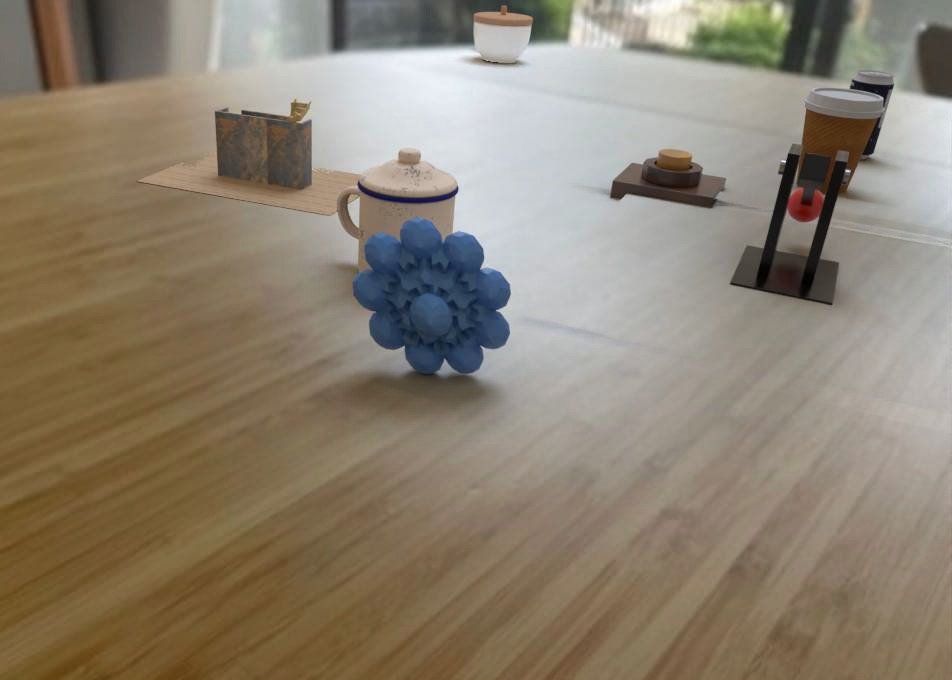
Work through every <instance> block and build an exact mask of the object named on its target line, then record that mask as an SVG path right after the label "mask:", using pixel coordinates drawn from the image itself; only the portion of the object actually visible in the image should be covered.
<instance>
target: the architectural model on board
mask: <svg viewBox="0 0 952 680" xmlns="http://www.w3.org/2000/svg"><path fill="white" fill-rule="evenodd" d="M311 104H312V100H310V101H309V102H300V101H298V99H297V98H294V100H293V101H292V102H290V113H289V115H282V114H275V113H269V112H262V111H255V110H248V109H241V110H240V113H234V112H229V111H230V110H229V108H230V107H228V106H227V107H222V108H220V109H217V110H214V122H215V125H214V126H215V140H216V142H215V143H216V150H209V151H210V152H211V151H213V152H214V153H213V152H211V153H210V152H209V151H208V152H209V153H210V154H208V153H207V155H211V157H210V156H208V157H209V158H208V157H206V156H205V157H203V158H205V159H203V160H201V161H200V160H198V161H200V162H198V163H197V164H196V165H197V166H196V167H194V166H195V165H194V166H192V165H190V166H192V167H190V166H189V167H190V168H189V167H187V166H188V165H186V166H184V167H183V166H181V165H183V164H184V163H182V162H180V163H181V164H180V163H177V164H175V165H173V166H174V167H173V166H170V167H168V168H165V169H163V170H159V171H158V172H156V173H155V172H154V173H153V174H150V175H148V176H145V177H143V178H141V179H138V180H137V182H140V183H144V184H150V185H156V186H161V187H162V186H163V187H168V188H173V189H179V190H184V191H189V192H196V193H202V194H206V195H212V196H216V197H217V196H219V197H224V198H230V199H236V200H239V201H240V200H241V201H245V202H246V201H247V202H252V203H258V204H264V205H268V206H274V207H280V208H285V209H291V210H297V211H302V212H303V211H304V212H307V213H314V214H318V215H319V214H320V215H326V216H332V215H333V214H334V213H336V212H337V200H338V196H339V194H340V193H341V192H342V191H343V190H344V189H346V188H348V187H351V186H357V183H358V180H359V177H360V176H361V174H358V173H354V172H353V173H352V172H346V171H340V170H334V169H328V170H326V169H327V168H321V167H316V168H318V169H316V168H314V170H317V171H314V170H312V167H313V166H312V165H313V164H312V162H313V160H312V159H313V157H312V156H313V154H312V153H313V152H312V151H313V149H312V148H313V144H312V143H313V140H312V139H313V137H312V136H313V135H312V134H313V125H312V124H313V122H312V121H313V120H312V119H311V118H310V119H306V120H304V121H302V120H303V119H304V118H305V116H306V115H307V113H308V112H309V111H310V109H311ZM301 121H302V122H301ZM203 154H204V153H203ZM204 155H206V154H204ZM212 155H213V156H212ZM202 161H203V162H202ZM209 161H210V162H209ZM195 163H196V162H195ZM199 163H200V164H199ZM179 164H180V165H179ZM187 164H188V163H187ZM178 165H179V166H178ZM199 165H200V166H199ZM176 166H177V167H176ZM185 167H186V168H185ZM319 169H320V170H319ZM322 170H324V171H322ZM329 170H330V171H329ZM331 170H333V172H332V171H331ZM328 171H329V173H327V172H328ZM314 173H315V174H314ZM357 198H360V196H358V195H353V194H351V195H350V196H349V198H348V204H350V203H351V202H353V201H355V200H356V199H357Z"/></svg>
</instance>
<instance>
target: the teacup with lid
mask: <svg viewBox="0 0 952 680" xmlns="http://www.w3.org/2000/svg"><path fill="white" fill-rule="evenodd" d="M397 155H398V156H397V158H393V159H391V160H388V161H387V162H384V163H383V164H381V165H378V166H373V167H370V168H368V169H365V170H363V172H361V174H360V175H361V176H360V177H359V180H358V183H357V186H351V187H348V188H346V189H344V190H343V191H342V192H341V193H340V194H339V196H338V200H337V211H336V212H337V216H338V220H339V222H340V224H341V227H342V228H343V229H344V231H345V232H346V233H347V234H348V235H349V236H351V237H352V238H354V239H356V240H358V248H357V249H358V250H357V251H358V253H357V255H358V256H357V269H358V273H360V272H363V271H365V270H368V269H371V270H373V269H372V268H371V267H370V265H369V264H368V263H367V261H366V260H365V252H364V247H365V244H366V242H367V240H368V238H369V237H371V236H374V235H376V234H378V233H380V232H382V233H386V234H389V235H392V236H394V237H396V238H397V240H398V241H399V242H400V243H401V241H400V230H401V228H402V226H403V224H404V222H406V221H408V220H411V219H413V218H415V217H420V218H423V219H426V220H429V221H431V222H432V223H433V224H434V225H435V227H436V228H437V229H438V231H439V232H440V233H441V235H442V243H443V242H444V240H445V238H446V236H448V235H451V234H453V233H454V220H455V207H456V195H458V193H459V190H460V189H459V185H458V182H457V179H456V178H455V177H454V175H452V174H451V173H450V172H448V171H446V170H442V169H441V168H440V169H439V168H436V166H434V165H433V164H431V163H430V162H428V161H426V160H424V159H422V153H421V151H420V149H418V148H414V147H403V148H401V149H400V150H399V151H398V154H397ZM351 194H353V195H358V196H359V207H358V209H359V211H358V214H359V215H358V227H357V225H356V224H355V223H354V222H353V220H352V218H351V215H350V212H349V208H348V207H349V203H348V198H349V196H350V195H351Z"/></svg>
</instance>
